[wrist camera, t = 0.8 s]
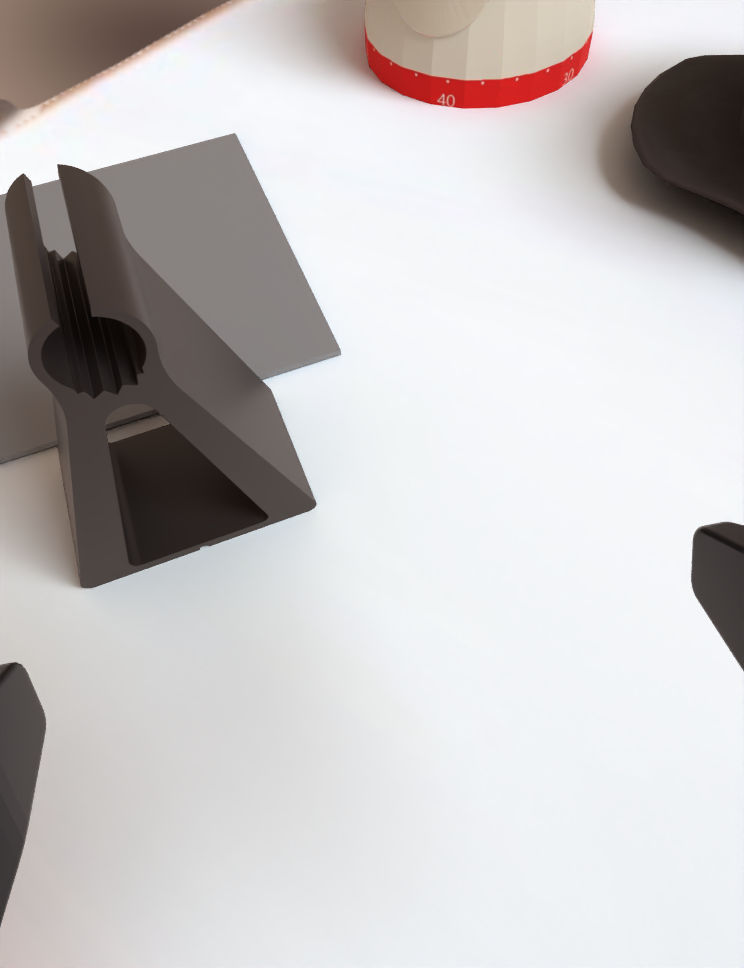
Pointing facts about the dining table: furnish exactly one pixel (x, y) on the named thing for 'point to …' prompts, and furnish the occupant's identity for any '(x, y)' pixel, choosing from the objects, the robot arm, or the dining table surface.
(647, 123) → the casserole
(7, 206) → the phone stand
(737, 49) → the dining table surface
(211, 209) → the mat
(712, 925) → the dining table surface
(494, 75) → the kitchen timer
